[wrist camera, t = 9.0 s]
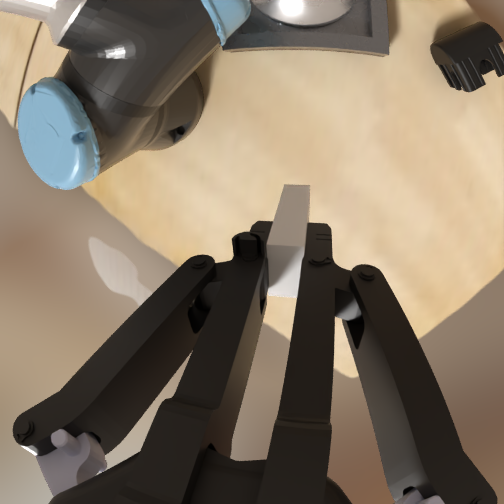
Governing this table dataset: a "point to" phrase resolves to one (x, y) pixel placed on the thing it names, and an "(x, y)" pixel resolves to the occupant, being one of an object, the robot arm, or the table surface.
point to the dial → (305, 11)
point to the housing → (317, 32)
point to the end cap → (469, 56)
